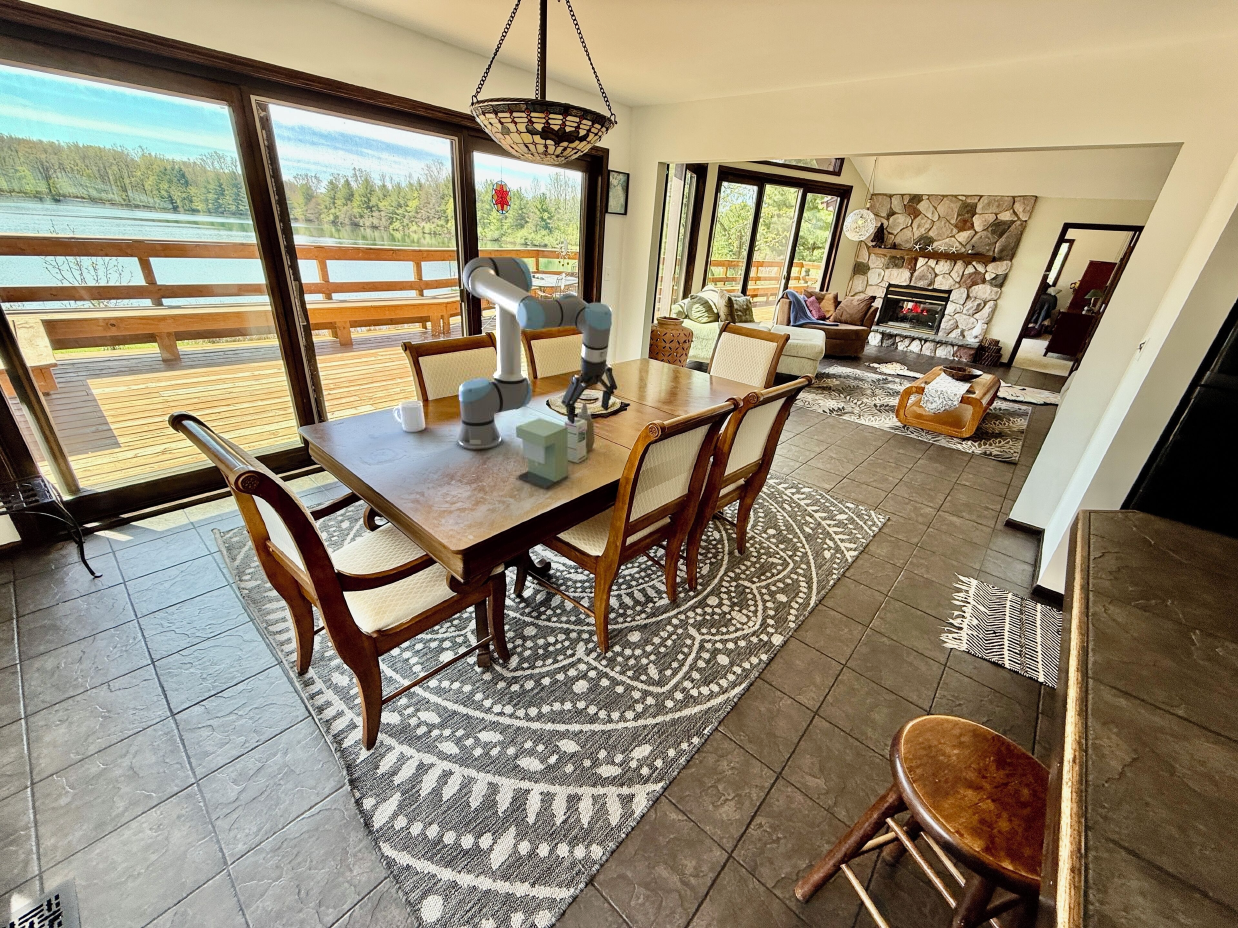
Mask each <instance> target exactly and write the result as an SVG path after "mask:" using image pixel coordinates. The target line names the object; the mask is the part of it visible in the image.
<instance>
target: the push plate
mask: <svg viewBox="0 0 1238 928" xmlns="http://www.w3.org/2000/svg"><path fill="white" fill-rule="evenodd" d="M521 440H522V441H521V443H522V444H521V445H522V457H524V458H527V459H528V458H529V459H531V460H534V461H537V462H539V463H542V464H545V463H546V460H545V447H543V446H540V445H537V444H534V443H532V442H529V441H526V440H523V439H521Z"/></svg>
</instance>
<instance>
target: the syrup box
mask: <svg viewBox="0 0 1238 928" xmlns="http://www.w3.org/2000/svg"><path fill="white" fill-rule="evenodd" d="M564 426H566V427H568V461H570V462H573V463H576V464H579V463H580V462H581V461H583V460H585V459H587V458H588V452H587V420H584V419H581V418H578V417H575V421H574V424H572V423H571V422H570V421H569V420H566V421H564Z"/></svg>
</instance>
